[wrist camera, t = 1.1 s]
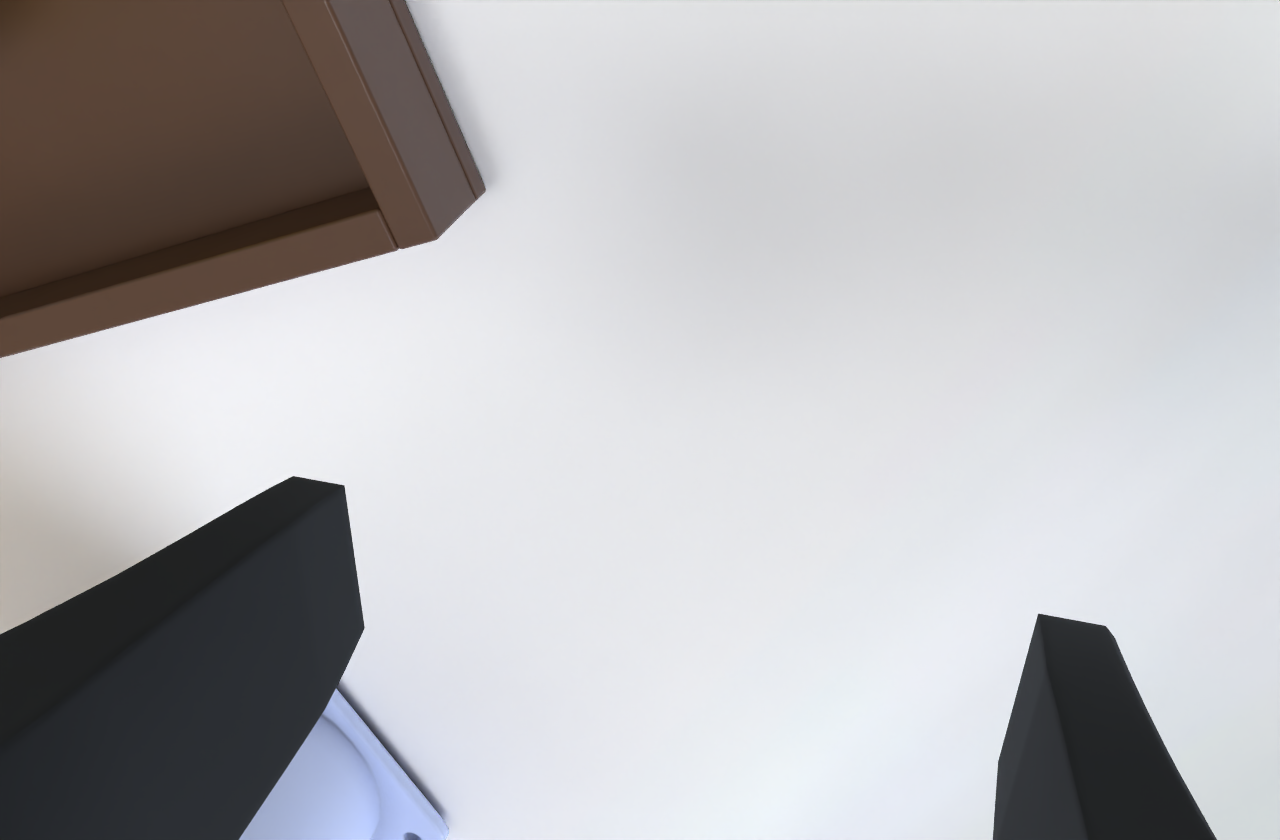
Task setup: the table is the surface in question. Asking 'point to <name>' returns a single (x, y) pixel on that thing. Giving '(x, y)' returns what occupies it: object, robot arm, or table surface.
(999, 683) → the table surface
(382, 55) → the tray
